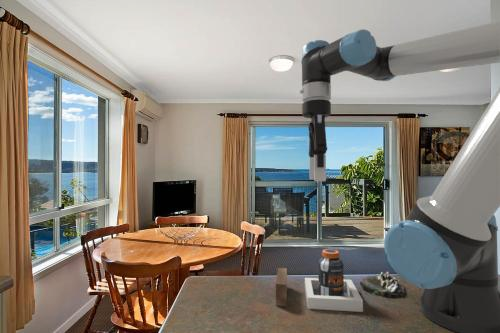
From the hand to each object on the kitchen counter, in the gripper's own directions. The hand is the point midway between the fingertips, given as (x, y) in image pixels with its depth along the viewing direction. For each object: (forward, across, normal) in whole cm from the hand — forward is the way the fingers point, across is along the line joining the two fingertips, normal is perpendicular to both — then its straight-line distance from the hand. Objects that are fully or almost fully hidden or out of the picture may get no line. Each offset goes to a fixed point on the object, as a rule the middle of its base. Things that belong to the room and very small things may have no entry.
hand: (316, 180), depth 75 cm
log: (+29, -2, +17) cm, 34 cm away
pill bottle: (+29, +6, +2) cm, 29 cm away
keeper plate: (+29, +6, +2) cm, 29 cm away
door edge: (+29, +6, -10) cm, 31 cm away
